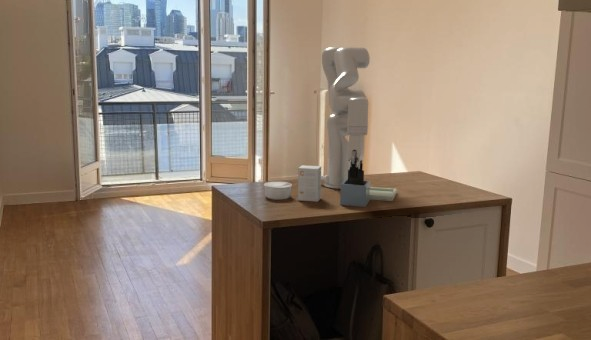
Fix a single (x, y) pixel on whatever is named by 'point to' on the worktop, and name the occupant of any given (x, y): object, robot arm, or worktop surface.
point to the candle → (357, 180)
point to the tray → (382, 194)
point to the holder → (354, 194)
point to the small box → (309, 183)
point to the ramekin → (277, 190)
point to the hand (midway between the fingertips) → (355, 175)
